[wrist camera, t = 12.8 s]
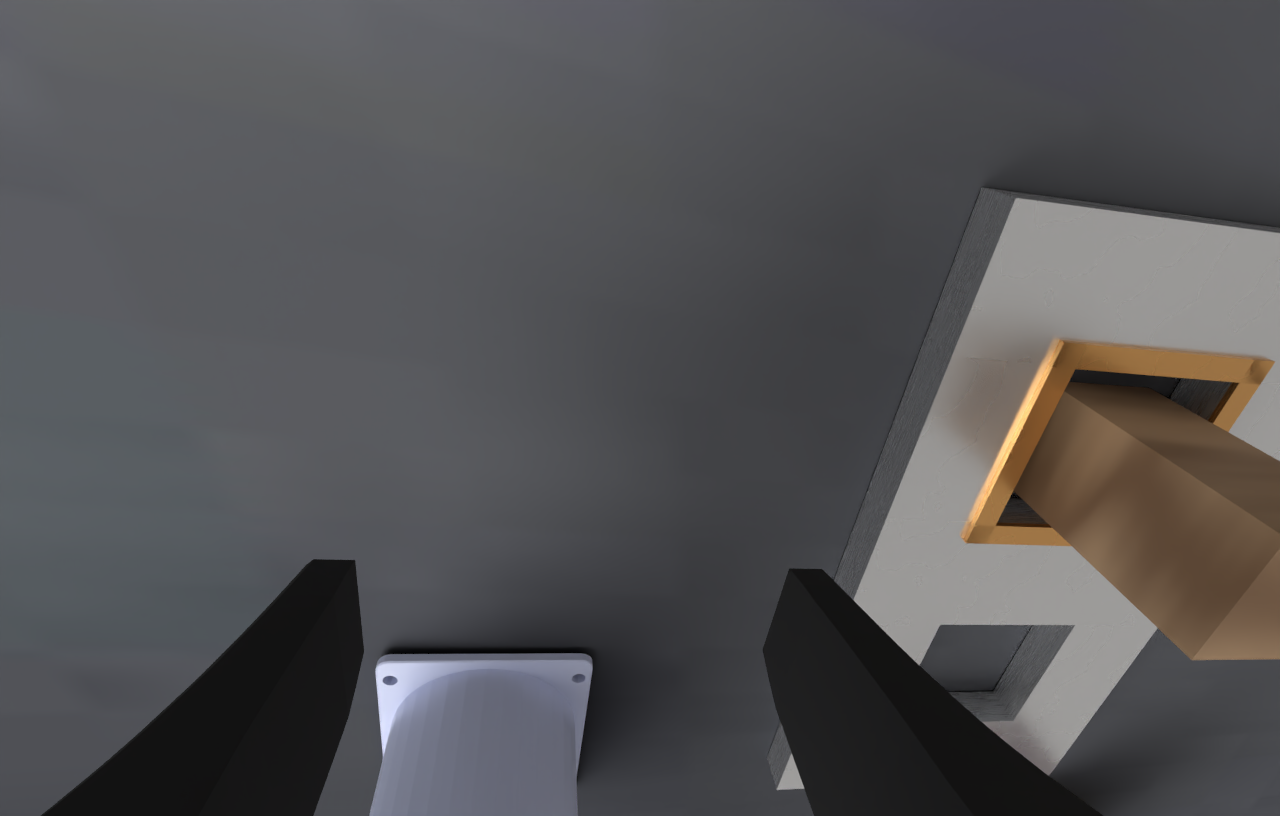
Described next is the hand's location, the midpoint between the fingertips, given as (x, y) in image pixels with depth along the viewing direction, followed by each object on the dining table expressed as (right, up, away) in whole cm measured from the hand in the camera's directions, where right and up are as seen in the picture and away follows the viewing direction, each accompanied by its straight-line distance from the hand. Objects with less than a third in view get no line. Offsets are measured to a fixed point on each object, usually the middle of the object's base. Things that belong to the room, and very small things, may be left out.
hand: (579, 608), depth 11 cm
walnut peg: (+16, +2, +12) cm, 20 cm away
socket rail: (+16, -2, +14) cm, 21 cm away
